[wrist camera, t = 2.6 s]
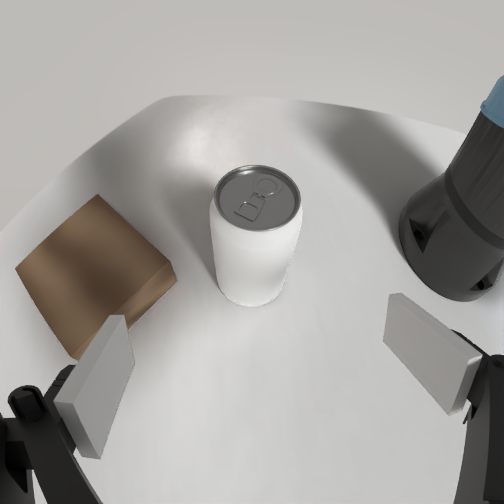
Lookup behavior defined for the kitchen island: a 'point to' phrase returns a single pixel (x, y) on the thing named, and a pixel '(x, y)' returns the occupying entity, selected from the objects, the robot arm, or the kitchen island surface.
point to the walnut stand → (93, 274)
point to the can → (254, 232)
